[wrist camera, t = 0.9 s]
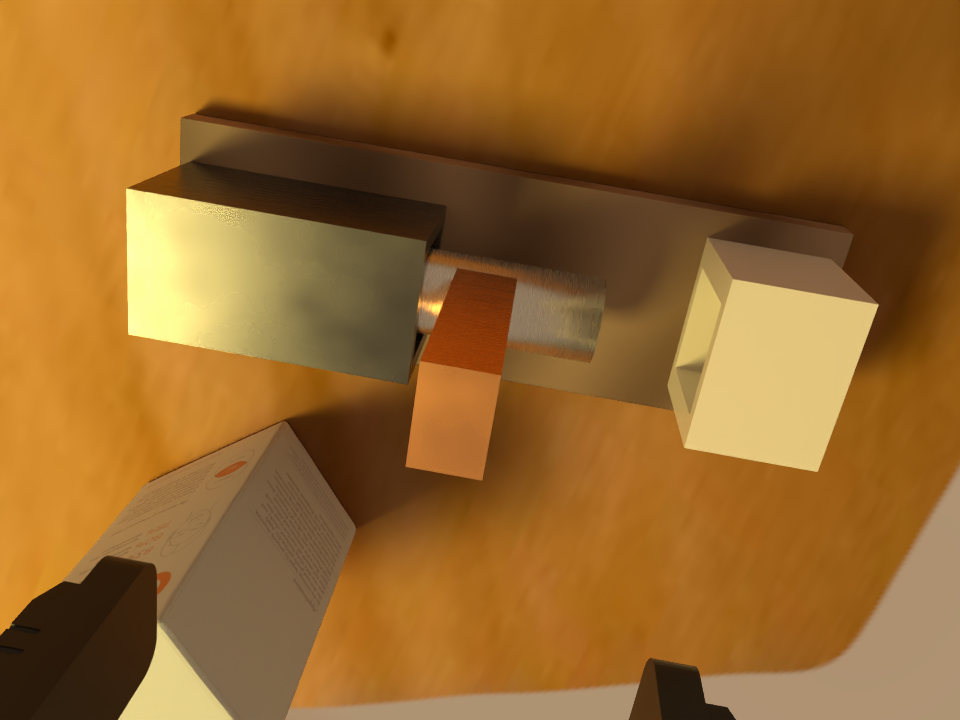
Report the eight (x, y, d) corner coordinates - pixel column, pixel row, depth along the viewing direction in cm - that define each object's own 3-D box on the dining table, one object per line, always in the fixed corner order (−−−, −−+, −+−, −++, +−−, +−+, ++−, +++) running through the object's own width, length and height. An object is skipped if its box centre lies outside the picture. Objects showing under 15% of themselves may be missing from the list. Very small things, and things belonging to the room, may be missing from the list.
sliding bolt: (219, 278, 32) (64, 404, 22) (222, 200, 31) (58, 296, 21) (587, 344, 31) (598, 501, 22) (604, 267, 30) (624, 397, 20)
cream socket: (667, 385, 33) (684, 447, 28) (707, 237, 30) (732, 279, 26) (782, 406, 33) (817, 471, 28) (831, 259, 30) (878, 304, 26)
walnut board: (190, 311, 35) (178, 321, 34) (193, 113, 32) (180, 117, 30) (780, 417, 34) (787, 430, 33) (843, 226, 31) (853, 234, 30)
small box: (219, 587, 40) (75, 832, 28) (142, 482, 38) (-48, 698, 26) (363, 529, 38) (272, 768, 26) (289, 415, 36) (155, 618, 24)
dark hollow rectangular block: (188, 288, 33) (128, 334, 28) (190, 161, 31) (126, 188, 26) (429, 331, 33) (407, 384, 28) (446, 205, 31) (426, 241, 26)
